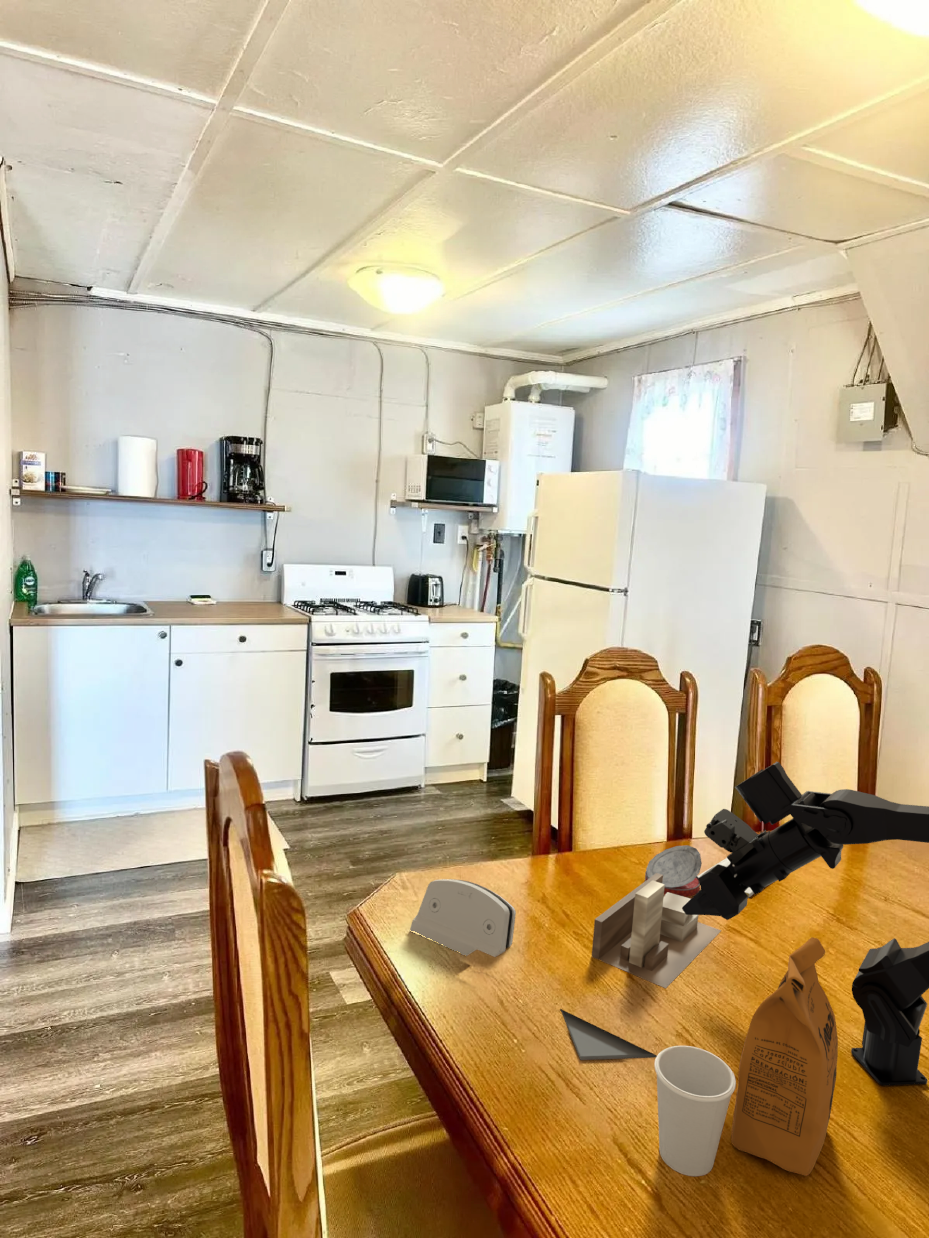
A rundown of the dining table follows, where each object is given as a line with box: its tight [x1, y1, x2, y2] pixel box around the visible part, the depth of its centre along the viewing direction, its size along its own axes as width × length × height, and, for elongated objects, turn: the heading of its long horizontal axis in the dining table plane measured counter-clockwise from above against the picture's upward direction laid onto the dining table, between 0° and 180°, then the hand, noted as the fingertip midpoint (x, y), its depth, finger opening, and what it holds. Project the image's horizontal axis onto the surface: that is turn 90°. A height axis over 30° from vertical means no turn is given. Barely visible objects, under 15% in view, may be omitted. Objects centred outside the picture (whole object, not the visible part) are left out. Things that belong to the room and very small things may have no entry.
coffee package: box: [731, 937, 839, 1177], centre depth 89 cm, size 10×12×22 cm
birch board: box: [629, 880, 665, 967], centre depth 123 cm, size 2×6×11 cm, turn 142°
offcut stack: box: [660, 892, 699, 942], centre depth 132 cm, size 6×7×4 cm
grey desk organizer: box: [591, 873, 722, 989], centre depth 128 cm, size 12×22×8 cm, turn 142°
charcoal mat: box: [560, 1008, 658, 1061], centre depth 108 cm, size 12×12×1 cm
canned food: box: [644, 844, 703, 898], centre depth 149 cm, size 11×10×10 cm
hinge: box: [409, 878, 517, 958], centre depth 128 cm, size 17×5×10 cm, turn 55°
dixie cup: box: [654, 1045, 737, 1177], centre depth 87 cm, size 8×8×10 cm
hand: (696, 899), depth 118 cm, fingers open, 9 cm apart
